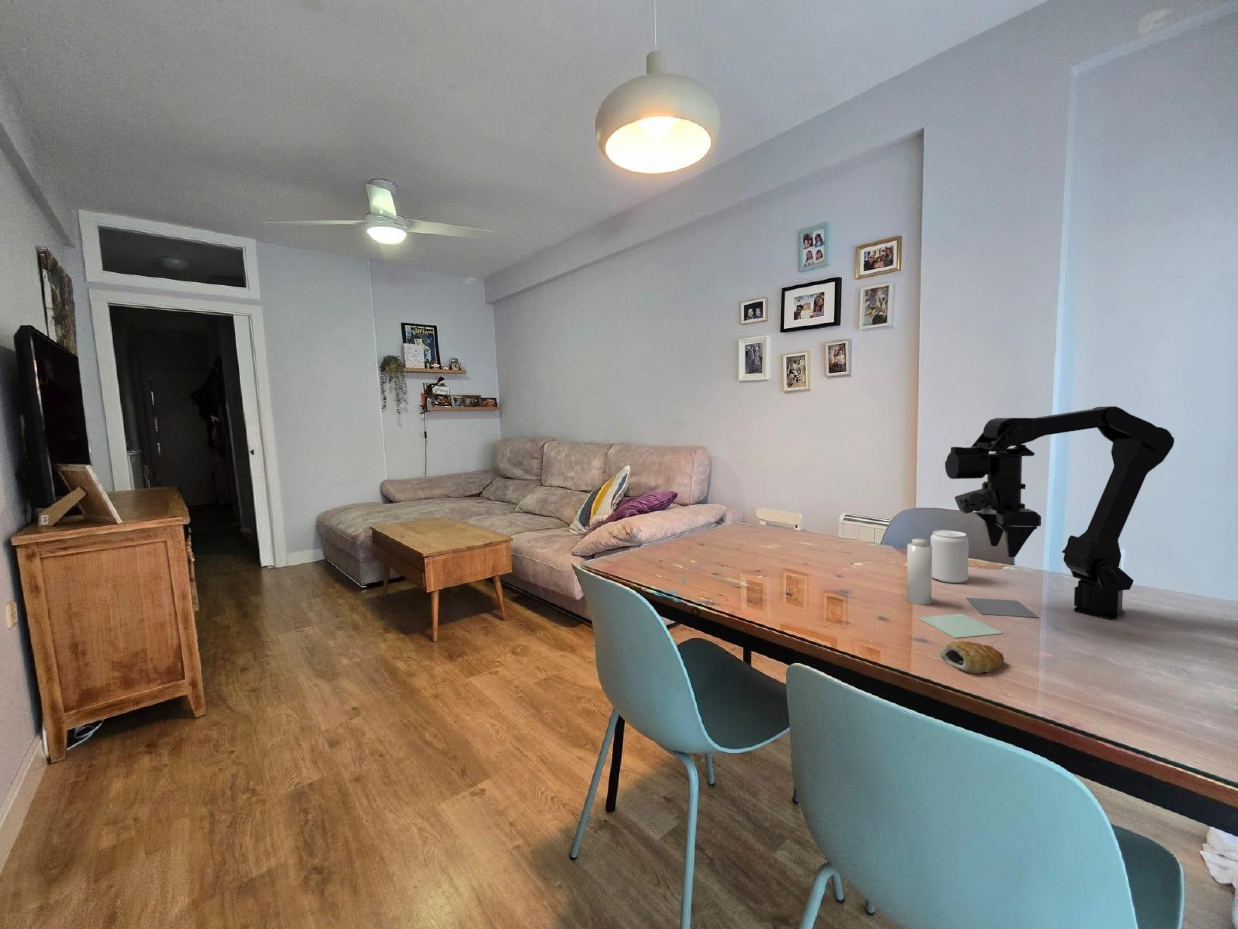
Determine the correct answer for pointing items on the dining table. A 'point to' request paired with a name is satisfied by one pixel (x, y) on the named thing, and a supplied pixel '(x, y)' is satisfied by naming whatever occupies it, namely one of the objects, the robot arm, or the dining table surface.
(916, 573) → the white bottle
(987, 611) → the felt pad
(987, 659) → the pastry
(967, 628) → the green tile
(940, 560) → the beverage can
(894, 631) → the dining table surface
